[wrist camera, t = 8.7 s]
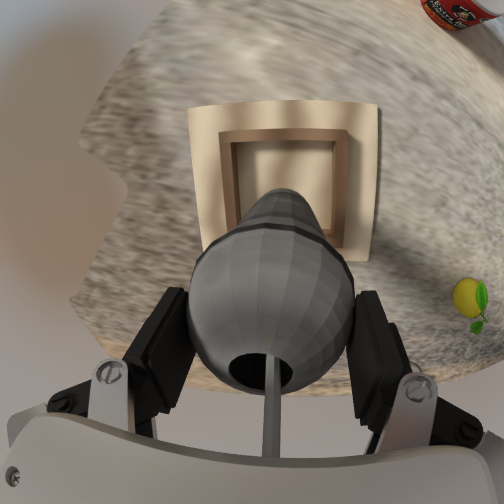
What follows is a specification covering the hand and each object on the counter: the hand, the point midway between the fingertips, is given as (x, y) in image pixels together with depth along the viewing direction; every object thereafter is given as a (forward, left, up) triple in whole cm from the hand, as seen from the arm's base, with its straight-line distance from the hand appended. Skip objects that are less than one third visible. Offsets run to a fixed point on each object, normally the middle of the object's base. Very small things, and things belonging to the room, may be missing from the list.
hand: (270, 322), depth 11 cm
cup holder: (0, 0, -25) cm, 25 cm away
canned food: (-23, -27, -25) cm, 43 cm away
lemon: (-29, +15, -25) cm, 41 cm away
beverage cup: (0, 0, -13) cm, 13 cm away
